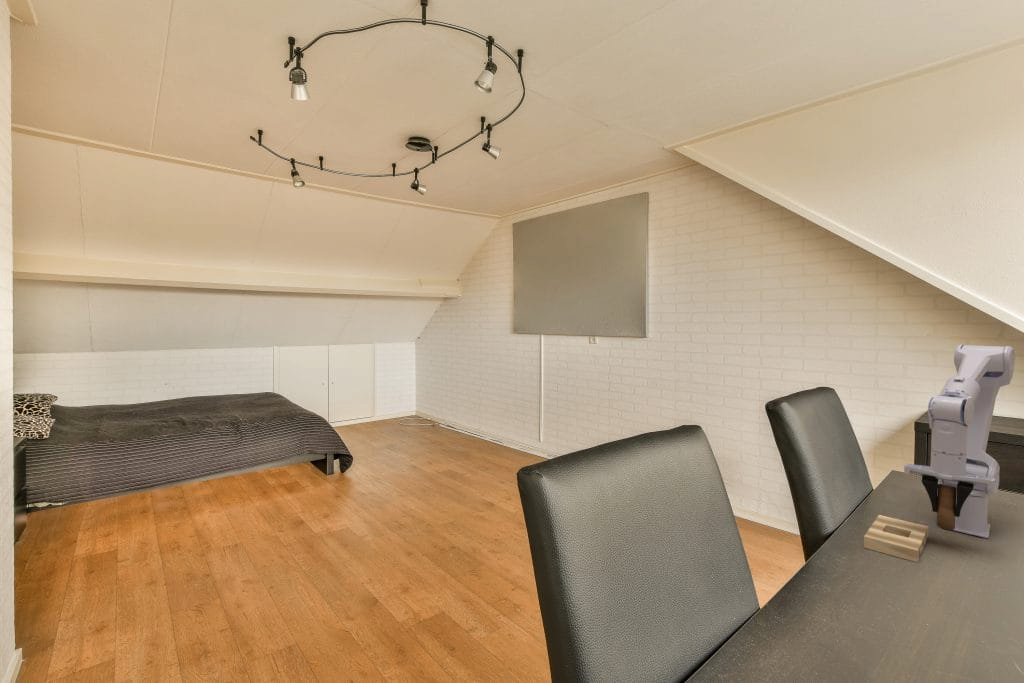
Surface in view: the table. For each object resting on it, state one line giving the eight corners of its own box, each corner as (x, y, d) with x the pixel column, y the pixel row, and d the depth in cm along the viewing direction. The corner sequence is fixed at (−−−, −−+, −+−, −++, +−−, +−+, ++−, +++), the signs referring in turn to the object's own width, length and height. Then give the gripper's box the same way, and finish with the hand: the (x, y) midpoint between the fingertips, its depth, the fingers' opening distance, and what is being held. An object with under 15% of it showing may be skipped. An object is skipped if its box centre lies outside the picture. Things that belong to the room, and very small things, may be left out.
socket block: (878, 525, 116) (879, 514, 116) (927, 537, 110) (928, 526, 110) (863, 547, 105) (864, 536, 105) (917, 562, 99) (918, 550, 98)
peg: (937, 522, 108) (938, 482, 108) (955, 526, 106) (957, 486, 105) (935, 526, 106) (937, 486, 105) (954, 531, 104) (955, 489, 103)
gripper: (902, 448, 107) (900, 508, 108) (995, 462, 97) (992, 529, 98) (907, 442, 112) (905, 500, 113) (996, 455, 102) (993, 518, 103)
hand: (946, 513), depth 106 cm, fingers closed on peg, 3 cm apart
